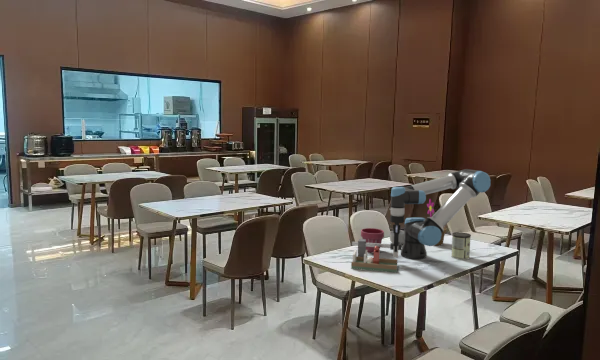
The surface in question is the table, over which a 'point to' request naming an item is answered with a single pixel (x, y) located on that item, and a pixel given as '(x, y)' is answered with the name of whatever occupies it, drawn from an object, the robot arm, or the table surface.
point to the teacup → (401, 237)
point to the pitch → (361, 263)
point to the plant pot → (372, 237)
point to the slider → (376, 249)
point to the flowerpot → (431, 216)
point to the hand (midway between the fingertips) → (395, 256)
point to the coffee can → (460, 245)
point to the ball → (369, 260)
